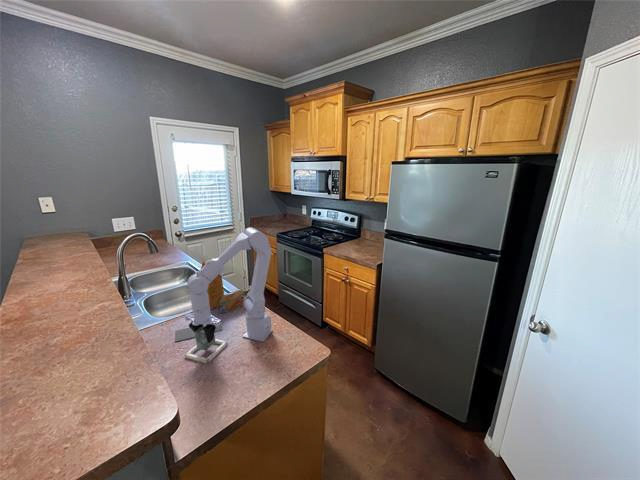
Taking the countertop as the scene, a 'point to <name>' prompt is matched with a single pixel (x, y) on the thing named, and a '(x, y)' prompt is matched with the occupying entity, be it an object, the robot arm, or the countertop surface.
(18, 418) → the countertop surface
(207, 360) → the pocket frame
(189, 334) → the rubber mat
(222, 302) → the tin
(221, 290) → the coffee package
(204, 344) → the block
